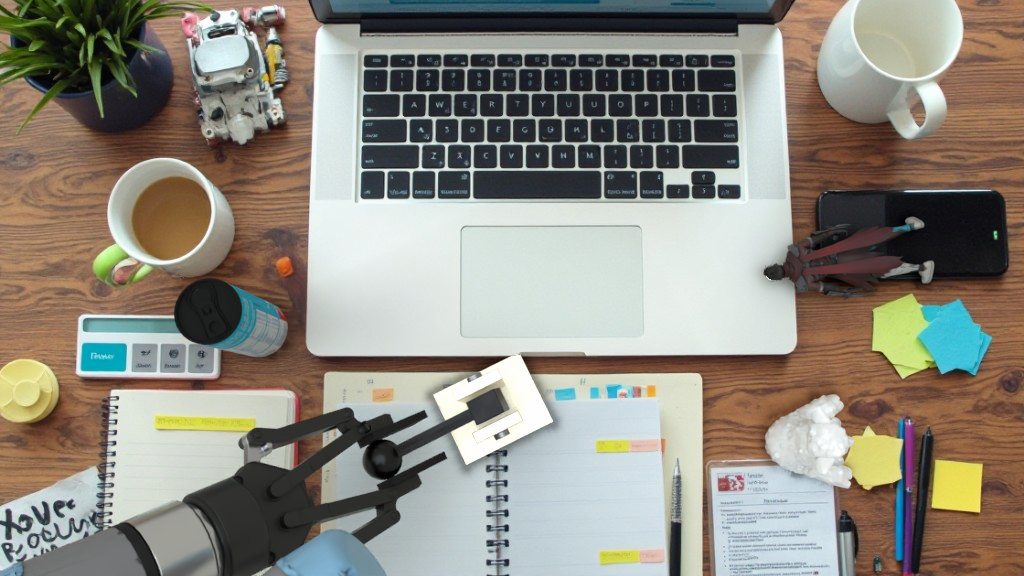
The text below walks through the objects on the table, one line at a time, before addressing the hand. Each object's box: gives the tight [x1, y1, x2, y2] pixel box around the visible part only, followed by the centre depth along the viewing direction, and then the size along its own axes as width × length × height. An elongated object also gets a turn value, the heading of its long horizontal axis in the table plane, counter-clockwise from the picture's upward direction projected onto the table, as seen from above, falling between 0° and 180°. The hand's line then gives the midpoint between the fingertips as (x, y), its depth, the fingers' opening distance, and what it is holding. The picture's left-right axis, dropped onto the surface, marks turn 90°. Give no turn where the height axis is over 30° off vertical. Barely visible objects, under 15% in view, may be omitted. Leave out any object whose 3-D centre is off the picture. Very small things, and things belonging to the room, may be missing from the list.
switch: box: [362, 387, 510, 481], centre depth 69 cm, size 14×4×4 cm, turn 117°
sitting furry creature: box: [764, 393, 855, 490], centre depth 74 cm, size 10×9×12 cm
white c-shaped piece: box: [432, 354, 554, 466], centre depth 73 cm, size 10×8×15 cm
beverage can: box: [173, 277, 289, 358], centre depth 75 cm, size 6×6×15 cm
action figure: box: [762, 216, 935, 301], centre depth 80 cm, size 8×6×18 cm
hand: (427, 438), depth 74 cm, fingers closed on switch, 4 cm apart
